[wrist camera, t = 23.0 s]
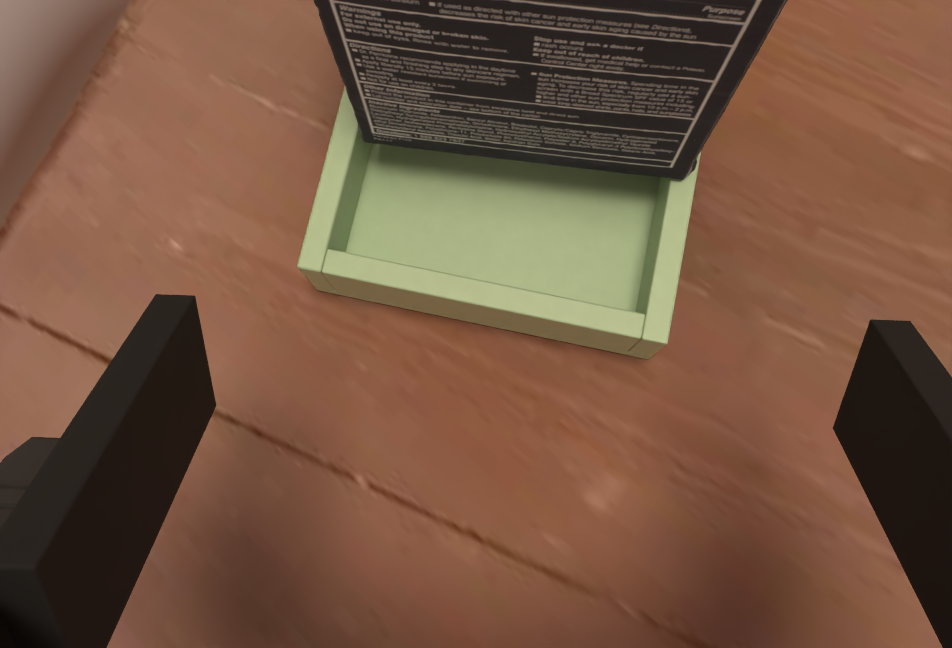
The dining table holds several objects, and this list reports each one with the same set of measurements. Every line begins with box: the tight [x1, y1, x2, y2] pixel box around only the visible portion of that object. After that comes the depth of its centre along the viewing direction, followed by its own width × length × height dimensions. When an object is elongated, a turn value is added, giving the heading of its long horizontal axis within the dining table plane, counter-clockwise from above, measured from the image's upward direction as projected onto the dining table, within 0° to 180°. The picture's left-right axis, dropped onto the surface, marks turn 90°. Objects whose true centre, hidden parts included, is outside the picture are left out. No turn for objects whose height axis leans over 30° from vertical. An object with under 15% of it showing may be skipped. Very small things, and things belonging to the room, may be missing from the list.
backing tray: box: [297, 87, 701, 359], centre depth 28 cm, size 12×16×3 cm
